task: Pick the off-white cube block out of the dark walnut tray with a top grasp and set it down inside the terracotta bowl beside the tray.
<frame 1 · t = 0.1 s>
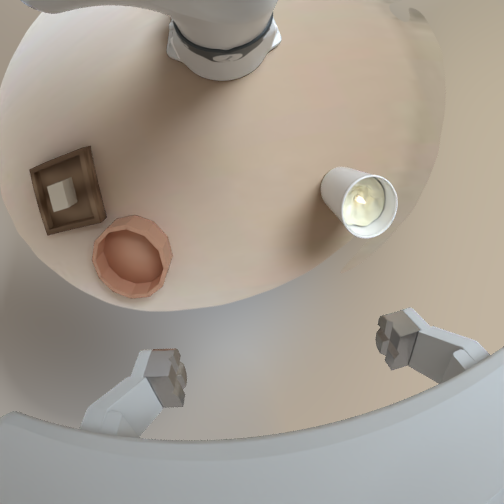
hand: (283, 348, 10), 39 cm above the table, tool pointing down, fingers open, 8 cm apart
terracotta bowl: (135, 251, 49), on the table
off-white cube block: (66, 191, 41), point 1 cm above the table, touching walnut tray
walnut tray: (69, 190, 42), on the table
candle holder: (340, 187, 47), on the table
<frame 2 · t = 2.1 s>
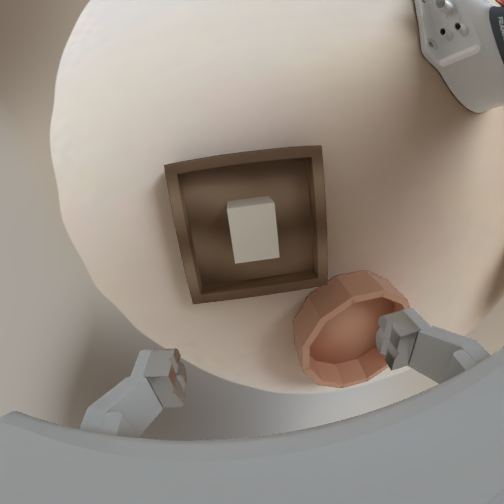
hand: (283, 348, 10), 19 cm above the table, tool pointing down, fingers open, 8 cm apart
terracotta bowl: (347, 322, 33), on the table
off-white cube block: (251, 223, 27), point 1 cm above the table, touching walnut tray
walnut tray: (250, 220, 28), on the table
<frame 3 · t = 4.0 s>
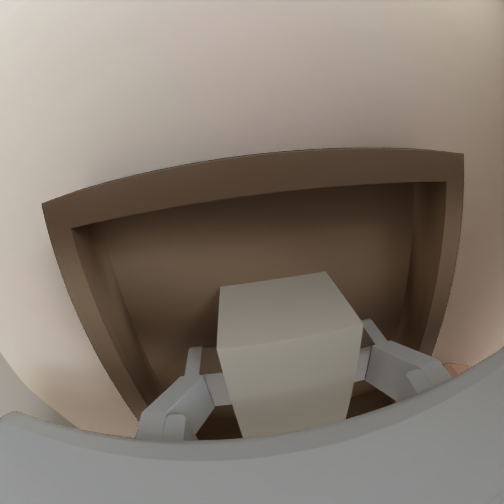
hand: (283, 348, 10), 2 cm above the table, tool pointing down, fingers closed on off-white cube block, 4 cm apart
off-white cube block: (278, 332, 11), point 1 cm above the table, touching gripper, walnut tray
walnut tray: (275, 318, 12), on the table
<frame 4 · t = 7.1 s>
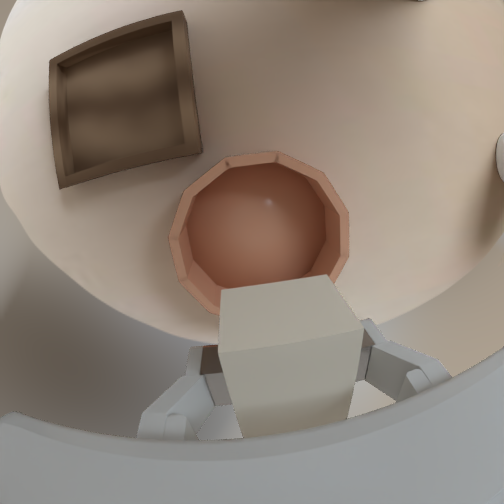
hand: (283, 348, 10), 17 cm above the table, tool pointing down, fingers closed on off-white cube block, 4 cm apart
terracotta bowl: (257, 229, 26), on the table
off-white cube block: (279, 334, 11), point 16 cm above the table, touching gripper
walnut tray: (122, 100, 21), on the table
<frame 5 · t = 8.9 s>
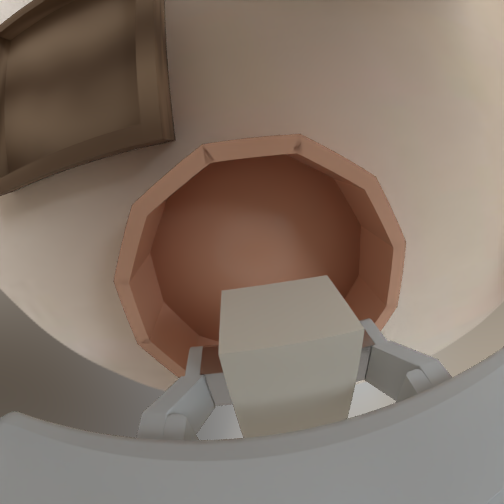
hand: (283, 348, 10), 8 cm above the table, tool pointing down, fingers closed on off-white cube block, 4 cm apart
terracotta bowl: (258, 258, 17), on the table
off-white cube block: (280, 335, 11), point 7 cm above the table, touching gripper
walnut tray: (69, 71, 12), on the table
when the fingers open (4 cm above the table, at t = 10.1 s): off-white cube block drops 2 cm, resting on terracotta bowl.
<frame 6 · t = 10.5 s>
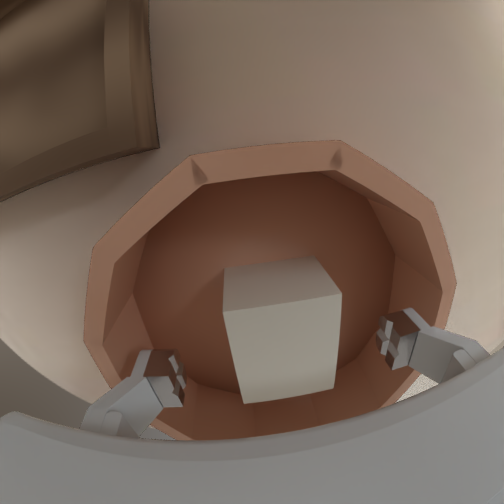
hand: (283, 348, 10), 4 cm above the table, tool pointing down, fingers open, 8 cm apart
terracotta bowl: (269, 297, 14), on the table
off-white cube block: (274, 309, 13), point 1 cm above the table, touching terracotta bowl
walnut tray: (35, 67, 8), on the table
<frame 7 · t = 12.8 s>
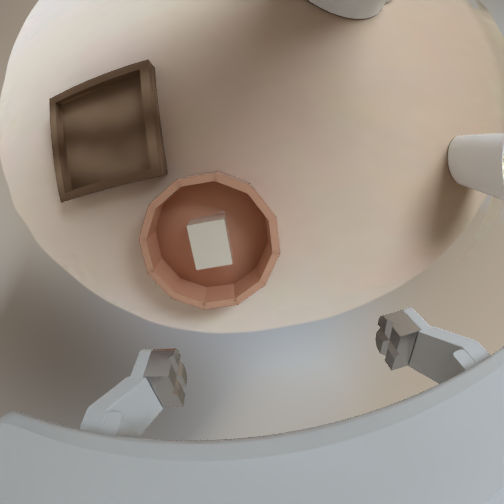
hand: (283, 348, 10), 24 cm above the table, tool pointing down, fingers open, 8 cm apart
terracotta bowl: (211, 233, 33), on the table
off-white cube block: (211, 236, 32), point 1 cm above the table, touching terracotta bowl
walnut tray: (107, 132, 27), on the table
candle holder: (461, 160, 32), on the table
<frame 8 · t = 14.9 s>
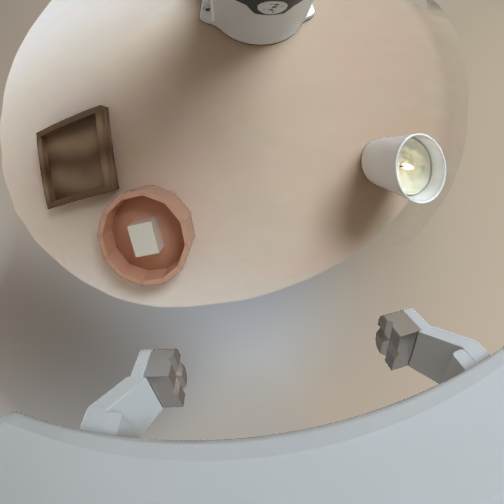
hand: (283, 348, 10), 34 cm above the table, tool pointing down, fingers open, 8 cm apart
terracotta bowl: (150, 230, 42), on the table
off-white cube block: (149, 232, 42), point 1 cm above the table, touching terracotta bowl
walnut tray: (78, 158, 37), on the table
candle holder: (380, 162, 41), on the table
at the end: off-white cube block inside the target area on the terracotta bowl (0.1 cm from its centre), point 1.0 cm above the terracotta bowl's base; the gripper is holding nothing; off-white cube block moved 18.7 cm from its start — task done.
